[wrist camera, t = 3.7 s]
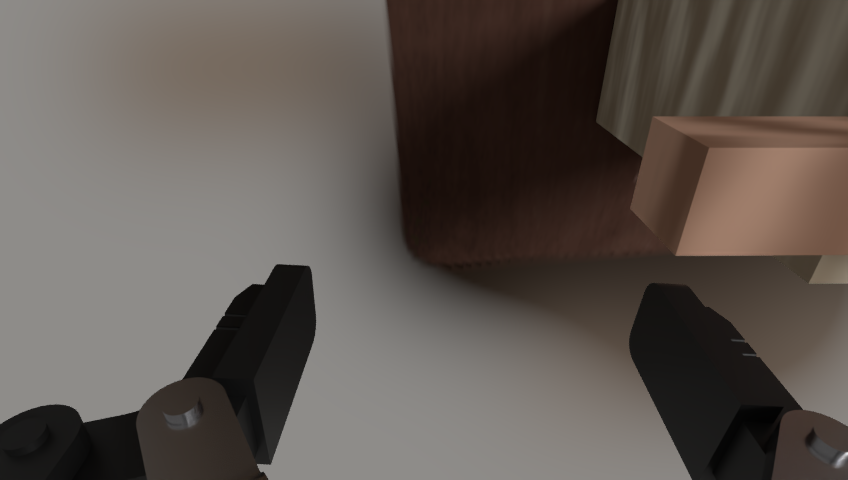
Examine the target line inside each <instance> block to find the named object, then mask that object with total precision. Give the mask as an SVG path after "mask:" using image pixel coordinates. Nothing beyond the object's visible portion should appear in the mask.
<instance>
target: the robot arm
mask: <svg viewBox="0 0 848 480" xmlns="http://www.w3.org/2000/svg"><path fill="white" fill-rule="evenodd" d="M216 327H217V328H216V330H214V331H213V332H212V334H211V336H210V337H209V339H208V340H207V342H206V343H205V345H204V347H203V348H202V350H201V351H200V353H199V354H198V356H197V357H196V359H195V361H194V362H193V364H192V365H191V367H190V368H189V370H188V371H187V373H186V375H185V376H184V378H183V379H182V380H180V381H177V382H174V383H172V384H169V385H167V386H166V387H164V388H162V389H160V390H159V391H157V392H156V393H154V394H153V395H152V396H151V397H150V398H149V399H148V400H147V401H146V403H144V405H143V406H142V408H141V409H140V410H139V411H136V412H133V413H129V414H125V415H120V416H115V417H110V418H105V419H101V420H95V421H91V422H85V423H83V421H82V419H81V417H80V415H79V413H78V412H77V411H76V410H75V409H74V408H72V407H70V406H66V405H46V406H40V407H37V408H33V409H30V410H28V411H25V412H22V413H20V414H18V415H16V416H14V417H12V418H10V419H8V420H6V421H5V422H3V423H2V424H0V480H268V478H267V476H266V475H265V473H264V472H260V471H259V468H258V466H257V464H269V465H270V464H271V462H272V459H273V456H274V454H275V451H276V448H277V445H278V442H279V439H280V436H281V433H282V431H283V428H284V425H285V422H286V419H287V416H288V413H289V411H290V407H291V405H292V402H293V399H294V396H295V393H296V390H297V388H298V385H299V381H300V379H301V376H302V373H303V370H304V367H305V364H306V362H307V358H308V356H309V353H310V350H311V347H312V344H313V341H314V336H315V330H316V312H315V303H314V292H313V282H312V272H311V269H310V267H309V266H301V265H282V264H277V265H276V266H275V267H274V269H273V270H272V272H271V274H270V276H269V278H268V279H267V281H266V283H265V285H260V284H259V285H258V284H252V285H251V286H249V287H248V288H247V289H245V290H244V291H243V292H241V293H240V294H239V295H237V296H236V297H235V298H234V300H233V301H232V303H231V304H230V306H229V307H228V309H227V310H226V312H225V316H223V317H222V318H221V320H220V321H219V323H218V325H217V326H216ZM629 348H630V353H631V357H632V359H633V362H634V363H635V366H636V368H637V369H638V372H639V374H640V376H641V377H642V380H643V382H644V384H645V386H646V388H647V390H648V392H649V394H650V396H651V398H652V400H653V402H654V404H655V406H656V408H657V410H658V412H659V414H660V416H661V418H662V420H663V422H664V424H665V426H666V428H667V430H668V432H669V434H670V436H671V438H672V440H673V442H674V444H675V446H676V448H677V450H678V452H679V454H680V456H681V458H682V460H683V462H684V464H685V466H686V468H687V470H688V472H689V474H690V476H691V478H692V480H848V426H846V425H844V424H842V423H841V422H839V421H837V420H835V419H833V418H830V417H828V416H825V415H823V414H819V413H816V412H812V411H806V410H803V409H802V408H801V407H800V405H798V403H797V402H796V401H795V399H794V398H793V397H792V396H791V395H790V393H789V392H788V391H787V390H786V389H785V387H784V386H783V385H782V384H781V383H780V381H779V380H778V379H777V378H776V377H775V375H774V374H773V373H772V372H771V371H770V369H769V368H768V367H767V366H766V365H765V363H764V362H763V361H762V360H761V359H760V357H756V353H755V351H754V350H753V349H752V348H751V347H750V345H749V344H748V343H745V342H744V338H743V337H742V336H741V334H740V333H739V332H738V331H737V330H736V328H735V327H734V326H733V325H732V324H731V322H729V321H728V320H726V319H725V318H724V317H722V316H721V315H719V314H718V313H717V312H715V311H714V310H712V309H711V308H709V307H705V306H704V305H703V304H702V303H701V301H700V300H699V299H698V298H697V296H696V295H695V294H694V293H693V291H692V290H691V289H690V288H689V287H688V286H686V285H681V284H663V283H662V284H661V283H651V284H649V285H648V286H647V288H646V290H645V292H644V295H643V298H642V301H641V304H640V307H639V309H638V312H637V315H636V318H635V321H634V324H633V327H632V330H631V333H630V338H629Z"/></svg>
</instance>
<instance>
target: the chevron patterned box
mask: <svg viewBox="0 0 848 480" xmlns="http://www.w3.org/2000/svg"><path fill="white" fill-rule="evenodd" d="M653 116H848V0H618V5H617V10H616V16H615V21H614V26H613V32H612V37H611V43H610V48H609V54H608V59H607V64H606V70H605V75H604V81H603V86H602V92H601V97H600V102H599V108H598V113H597V119H596V122H597V123H598V124H599V125H601V126H602V127H603V128H605V129H606V130H607V131H609V132H610V133H611V134H613V135H614V136H615V137H616V138H618V139H619V140H620V141H622V142H623V143H624V144H626V145H627V146H628V147H630V148H631V149H632V150H634V151H635V152H636V153H637V154H639V155H640V156H641V157H643V154H644V150H645V146H646V142H647V138H648V134H649V130H650V126H651V121H652V117H653ZM772 256H773V257H774V258H776V259H777V260H778V261H780V262H781V263H782V264H783V265H785V266H786V267H787V268H789V269H790V270H791V271H793V272H794V273H795V274H797V275H798V276H800V278H802V279H803V280H804V281H806V282H807V283H808V284H818V283H819V284H824V283H825V284H833V283H836V284H837V283H838V284H839V283H848V255H772Z"/></svg>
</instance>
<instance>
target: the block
mask: <svg viewBox="0 0 848 480" xmlns="http://www.w3.org/2000/svg"><path fill="white" fill-rule="evenodd" d="M630 209H631V210H632V211H633V212H634V213H635V214H636V215H637V216H638V217H639V218H640V219H641V220H642V221H643V222H644V223H645V225H646V226H647V227H648V228H649V229H650V230H651V231H652V232H653V233H654V234H655V235H656V236H657V237H658V238H659V239H660V240H661V241H662V242H663V243H664V244H665V245H666V246H667V247H668V249H669V250H670V251H671V252H672V253H673V254H674V255H675V256H724V255H725V256H753V255H848V116H653V117H652V121H651V126H650V130H649V134H648V138H647V142H646V146H645V150H644V154H643V159H642V163H641V167H640V171H639V175H638V179H637V183H636V187H635V192H634V196H633V200H632V204H631V208H630Z"/></svg>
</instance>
